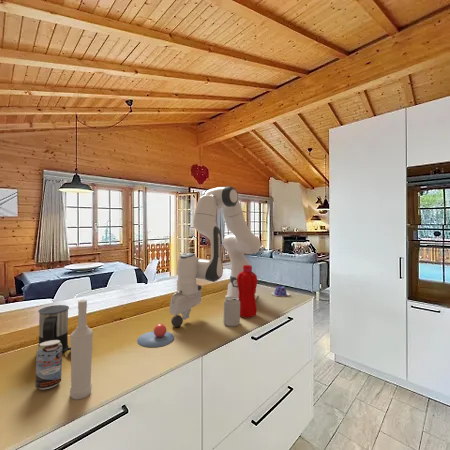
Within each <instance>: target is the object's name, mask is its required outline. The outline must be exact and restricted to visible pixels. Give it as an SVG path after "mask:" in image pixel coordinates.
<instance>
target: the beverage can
mask: <svg viewBox="0 0 450 450" xmlns="http://www.w3.org/2000/svg"><path fill="white" fill-rule="evenodd" d="M35 357H36V359H35V361H36V362H35V364H36V365H35V384H34V387H35V388H37V389H39V390H48V389H52V388H54V387H56V386H57V385H59V384H60V382H61V381H62V374H63V373H62V368H63V367H62V366H63V353H62V344H61V343H60V340H50V341H46V342H42V343H40V346H39V347H37V349H36V356H35Z"/></svg>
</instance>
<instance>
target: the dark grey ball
mask: <svg viewBox="0 0 450 450" xmlns="http://www.w3.org/2000/svg"><path fill="white" fill-rule="evenodd" d="M170 323H171V325H172V327H174V328H179V327H181V326H182V325H183V323H184V320H183V319H182V316H181V315H180V314H178V315H174V316H173V317H172V318H171V322H170Z"/></svg>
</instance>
